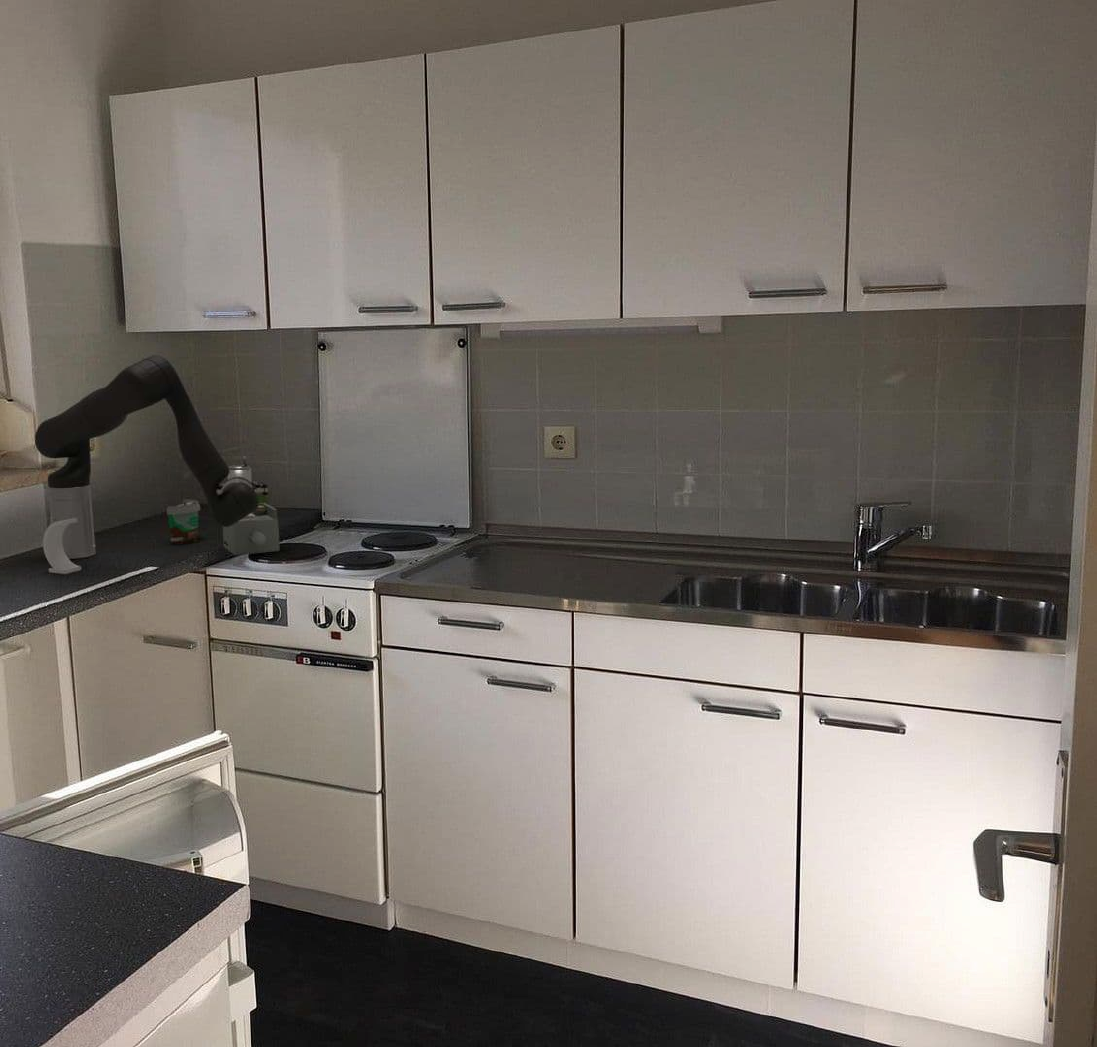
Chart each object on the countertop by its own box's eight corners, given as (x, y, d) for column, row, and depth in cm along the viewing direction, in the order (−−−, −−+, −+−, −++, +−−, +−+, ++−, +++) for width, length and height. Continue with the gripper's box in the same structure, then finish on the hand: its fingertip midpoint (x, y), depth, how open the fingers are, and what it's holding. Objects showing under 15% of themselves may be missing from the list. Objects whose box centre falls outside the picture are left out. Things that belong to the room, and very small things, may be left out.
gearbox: (237, 557, 255) (235, 515, 254) (223, 546, 268) (221, 506, 266) (282, 553, 261) (280, 511, 259) (267, 542, 274) (265, 502, 272)
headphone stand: (65, 574, 238) (60, 521, 236) (45, 571, 241) (40, 519, 239) (81, 569, 243) (77, 518, 240) (61, 567, 245) (57, 516, 243)
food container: (193, 545, 271) (190, 506, 269) (169, 545, 271) (166, 506, 269) (209, 536, 283) (206, 499, 281) (186, 536, 283) (183, 499, 281)
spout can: (232, 515, 259) (229, 458, 257) (227, 512, 264) (224, 456, 262) (255, 513, 262) (252, 457, 260) (250, 510, 267) (247, 455, 264)
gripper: (268, 477, 249) (269, 469, 265) (204, 479, 246) (209, 471, 262) (270, 509, 250) (270, 499, 267) (206, 511, 247) (211, 501, 263)
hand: (240, 485), depth 264 cm, fingers closed on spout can, 5 cm apart
